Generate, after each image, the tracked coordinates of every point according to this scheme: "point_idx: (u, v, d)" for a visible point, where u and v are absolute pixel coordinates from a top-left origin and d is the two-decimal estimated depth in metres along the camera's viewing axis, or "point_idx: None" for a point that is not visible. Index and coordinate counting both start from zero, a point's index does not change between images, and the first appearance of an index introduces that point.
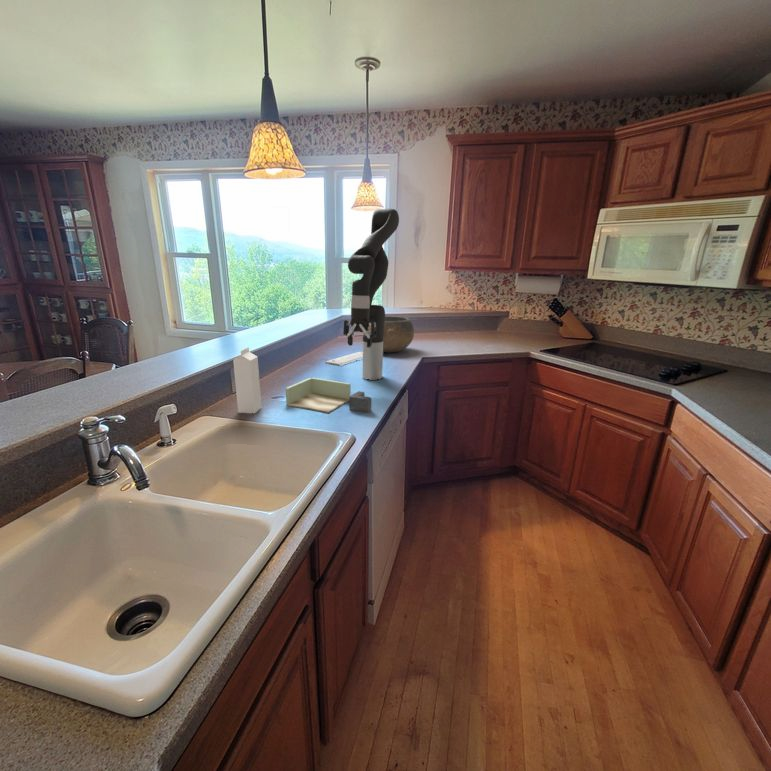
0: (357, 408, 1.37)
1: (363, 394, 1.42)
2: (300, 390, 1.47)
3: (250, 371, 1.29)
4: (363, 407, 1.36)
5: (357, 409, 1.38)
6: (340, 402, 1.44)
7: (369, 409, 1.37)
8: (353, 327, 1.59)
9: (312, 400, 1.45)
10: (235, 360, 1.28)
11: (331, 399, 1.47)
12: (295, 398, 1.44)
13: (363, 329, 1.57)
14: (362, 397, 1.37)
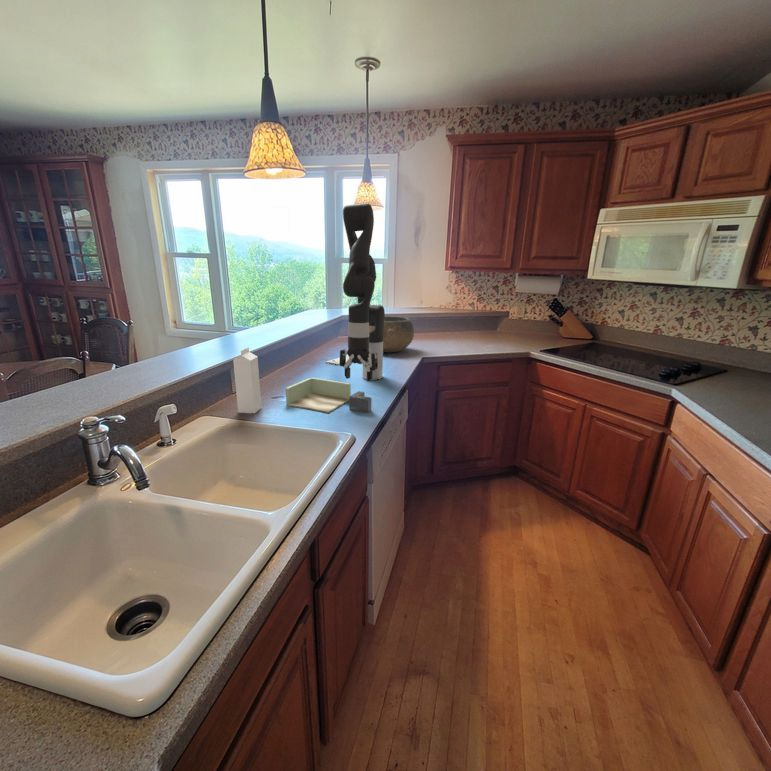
0: (357, 408, 1.37)
1: (363, 394, 1.42)
2: (300, 390, 1.47)
3: (250, 371, 1.29)
4: (363, 407, 1.36)
5: (357, 409, 1.38)
6: (340, 402, 1.44)
7: (369, 409, 1.37)
8: (350, 358, 1.37)
9: (312, 400, 1.45)
10: (235, 360, 1.28)
11: (331, 399, 1.47)
12: (295, 398, 1.44)
13: (362, 361, 1.35)
14: (362, 397, 1.37)
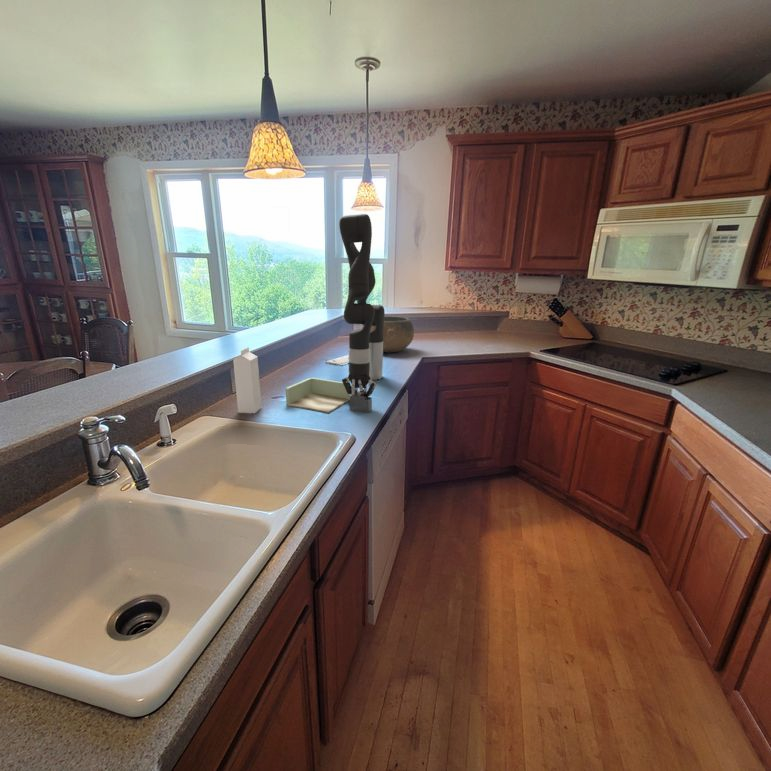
0: (357, 408, 1.37)
1: None
2: (300, 390, 1.47)
3: (250, 371, 1.29)
4: (363, 407, 1.36)
5: (357, 409, 1.38)
6: (340, 402, 1.44)
7: (369, 409, 1.37)
8: (353, 384, 1.39)
9: (312, 400, 1.45)
10: (235, 360, 1.28)
11: (331, 399, 1.47)
12: (295, 398, 1.44)
13: (360, 386, 1.38)
14: (362, 397, 1.37)
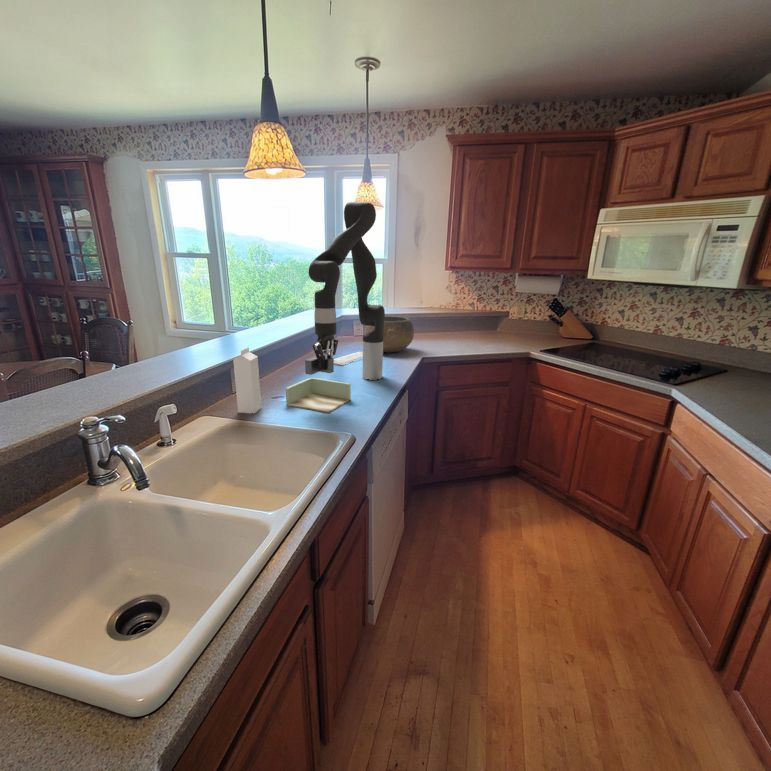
0: None
1: (327, 361, 1.38)
2: (300, 390, 1.47)
3: (250, 371, 1.29)
4: None
5: None
6: (340, 402, 1.44)
7: (308, 371, 1.36)
8: None
9: (312, 400, 1.45)
10: (235, 360, 1.28)
11: (331, 399, 1.47)
12: (295, 398, 1.44)
13: None
14: (312, 358, 1.37)
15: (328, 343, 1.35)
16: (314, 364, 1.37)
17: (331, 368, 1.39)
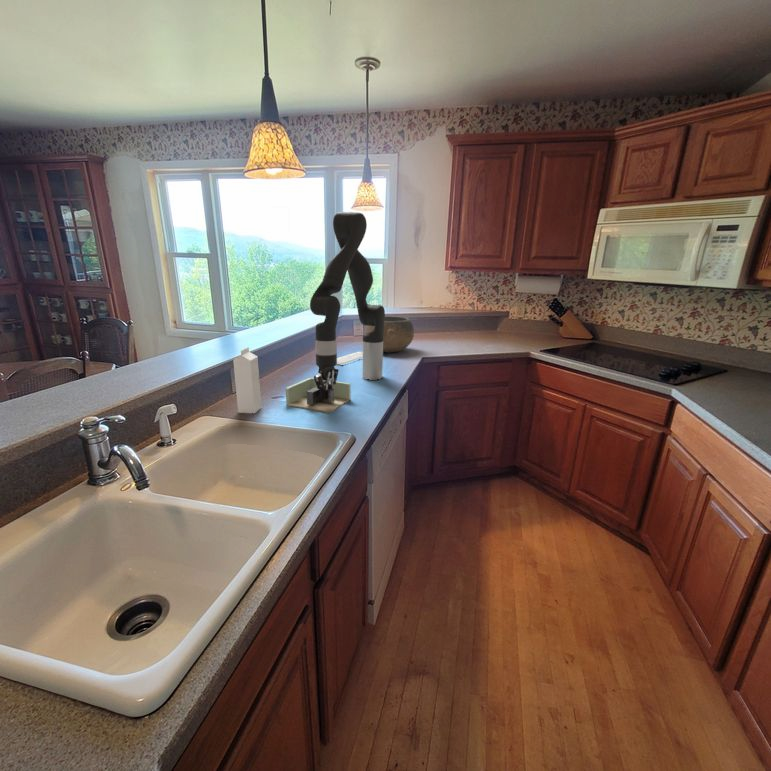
0: None
1: (328, 392, 1.41)
2: (300, 390, 1.47)
3: (250, 371, 1.29)
4: None
5: None
6: (340, 402, 1.44)
7: (309, 402, 1.39)
8: None
9: None
10: (235, 360, 1.28)
11: None
12: (295, 398, 1.44)
13: None
14: (314, 389, 1.41)
15: (329, 374, 1.39)
16: (316, 395, 1.40)
17: (332, 398, 1.42)
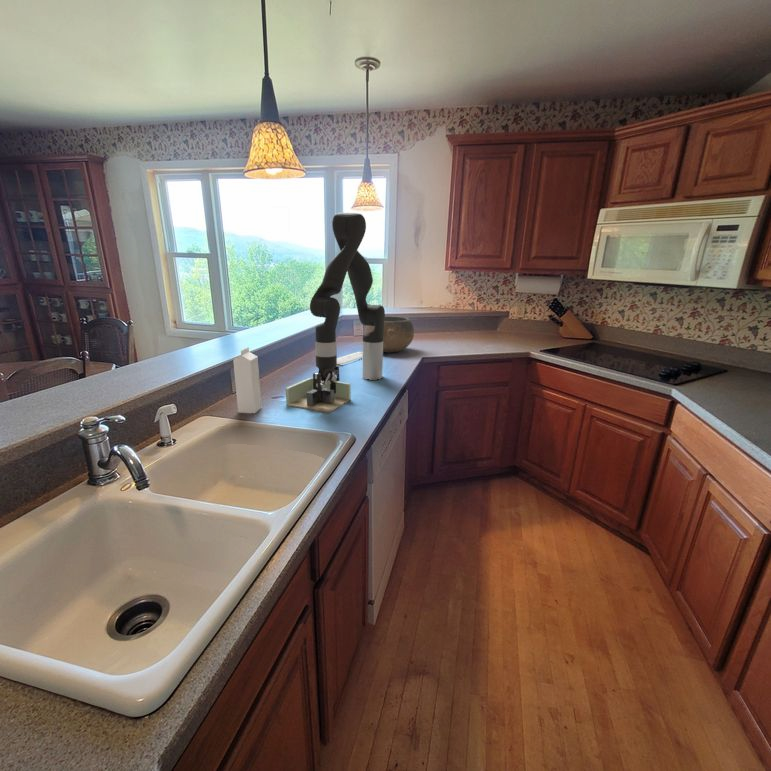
0: None
1: (328, 392, 1.41)
2: (300, 390, 1.47)
3: (250, 371, 1.29)
4: None
5: None
6: (340, 402, 1.44)
7: (309, 403, 1.40)
8: None
9: None
10: (235, 360, 1.28)
11: None
12: (295, 398, 1.44)
13: None
14: (313, 390, 1.41)
15: (328, 375, 1.39)
16: (316, 396, 1.40)
17: (332, 399, 1.42)
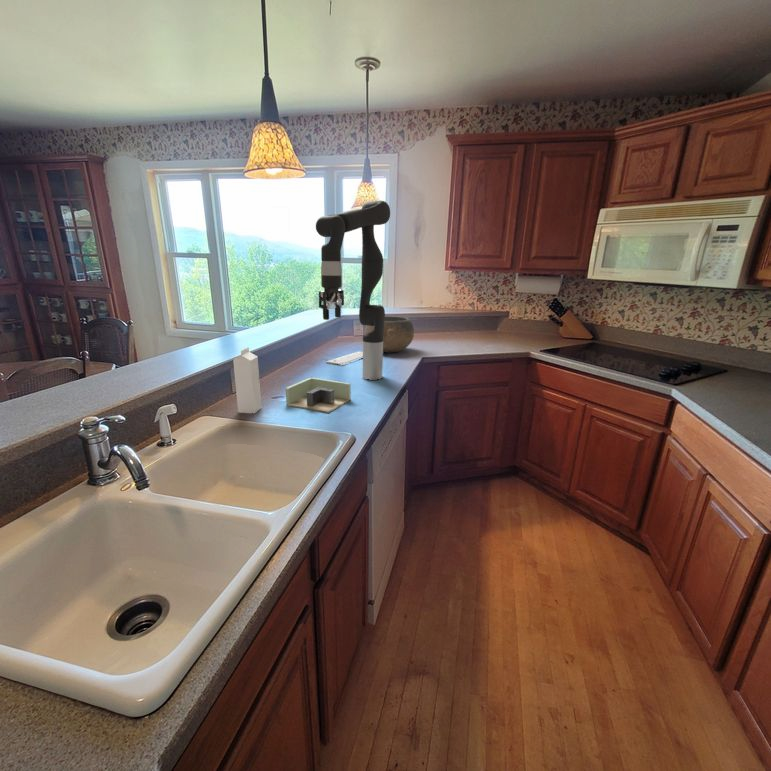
0: None
1: (328, 392, 1.41)
2: (300, 390, 1.47)
3: (250, 371, 1.29)
4: None
5: None
6: (340, 402, 1.44)
7: (309, 403, 1.40)
8: None
9: None
10: (235, 360, 1.28)
11: None
12: (295, 398, 1.44)
13: None
14: (313, 390, 1.41)
15: (334, 295, 1.43)
16: (316, 396, 1.40)
17: (332, 399, 1.42)
